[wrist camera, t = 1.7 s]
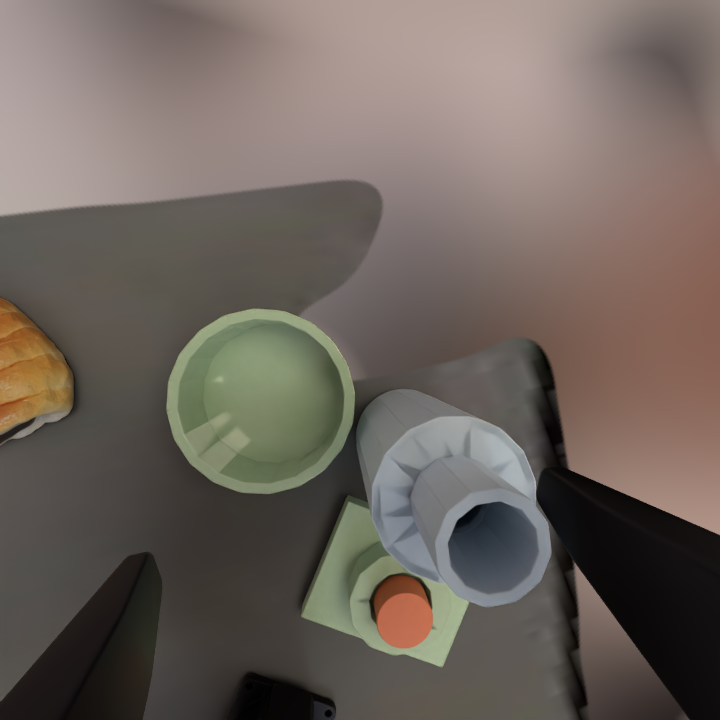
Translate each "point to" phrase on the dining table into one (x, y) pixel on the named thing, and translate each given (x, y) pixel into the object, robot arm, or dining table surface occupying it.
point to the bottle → (452, 497)
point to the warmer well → (260, 401)
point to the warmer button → (402, 612)
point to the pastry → (30, 376)
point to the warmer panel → (373, 588)
